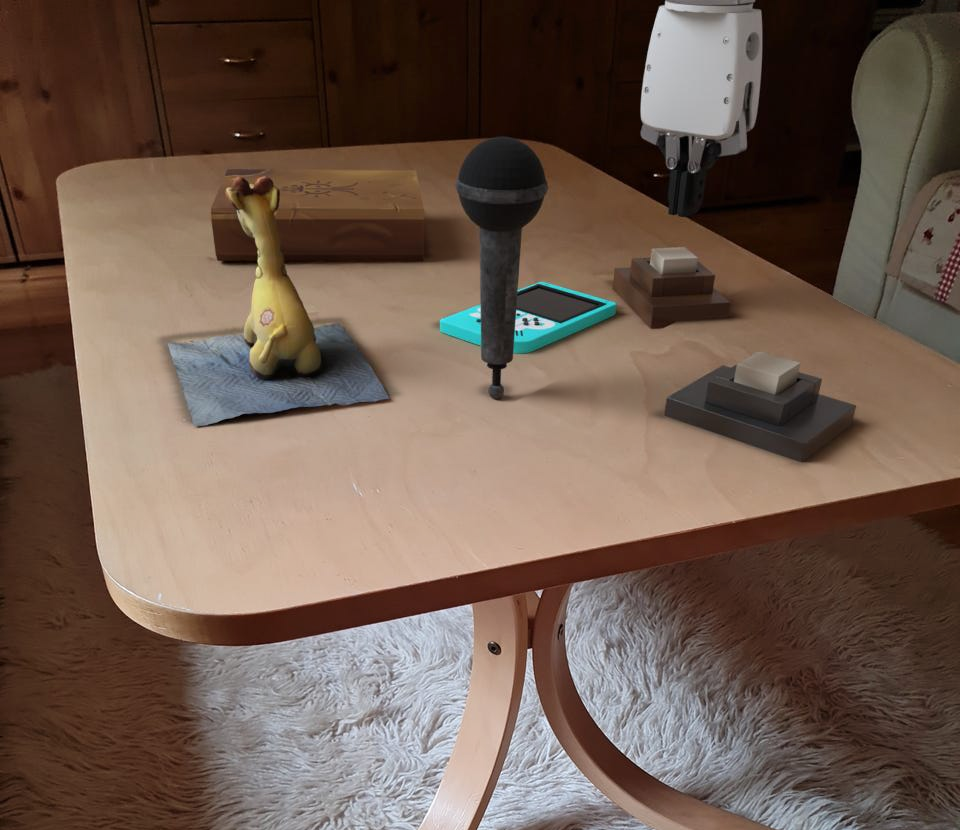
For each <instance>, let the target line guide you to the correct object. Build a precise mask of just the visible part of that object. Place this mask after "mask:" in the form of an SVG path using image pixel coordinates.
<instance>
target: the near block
mask: <svg viewBox="0 0 960 830" xmlns="http://www.w3.org/2000/svg"><path fill="white" fill-rule="evenodd" d="M737 364H738V363H736V364H735V365H733V366H727V365H724V364H722V365H721V366H719V367H717V368H715V369H714V370H712V371H710V372H709V373H707V374H705V375H703V376H702V377H700V378H698V379H696V380H694V381H692V382H691V383H689V384H688V385H686V386H683V387H681V389H679V390H677V391H675V392H674V393H672V394H670V395H668V396H666V399H665V400H666V401H665V407H664V415H663V416H664V417H666V418H669V419H673V420H676V421H677V422H678V421H679V422H681V423H684V424H687V425H690V426H693V427H695V428H699V429H701V430H705V431H708V432H710V433H713V434H717V435H719V436H722V437H726V438H728V439H731V440H734V441H737V442H740V443H743V444H746V445H749V446H752V447H754V448H758V449H760V450H764V451H766V452H770V453H772V454H776V455H778V456H781V457H783V458H787V459H790V460H793V461H796V462H799V463H803V462H804V461H805V460H806V459H808V458H809V457H810V456H812V455H814V454H815V453H816V452H817V451H818V450H819V449H821V448H823V447H824V446H825V445H826V444H828V443H829V442H830V441H831V440H833V439H835V437H837V436H838V435H840V433H842V432H843V431H845V430H846V429H848V427H850V426H851V425H852V424H853V422H854V421H853V420H854V417H855V414H856V409H857V405H856V404H853V403H850V402H847V401H843V400H841V399H840V400H839V399H837V398H833V397H830V396H827V395H823V394H820V390H821V386H822V381H823V378H821V377H819V376H818V377H817V376H815V375H811V374H807V373H803V372H800V371H799V372H798V377H797V381H796V384H794V385H793V386H791V387H789V388H788V389H786V390H785V391H783V392H782V393H780V394H779V395H775V394H772V393H768V392H765V391H762V390H759V389H755V388H752V387H749V386H746V385H742V384H739V383H736V382H734V378H735V372H736V367H737Z"/></svg>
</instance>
